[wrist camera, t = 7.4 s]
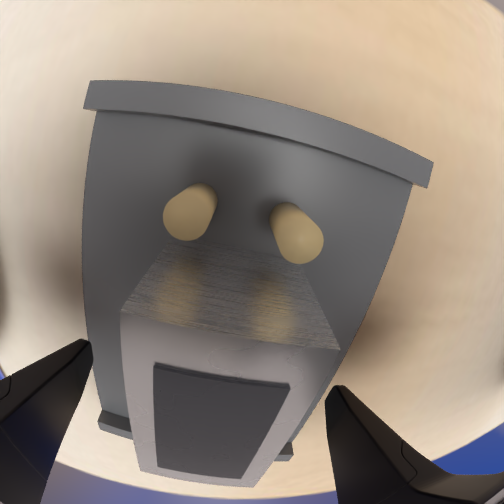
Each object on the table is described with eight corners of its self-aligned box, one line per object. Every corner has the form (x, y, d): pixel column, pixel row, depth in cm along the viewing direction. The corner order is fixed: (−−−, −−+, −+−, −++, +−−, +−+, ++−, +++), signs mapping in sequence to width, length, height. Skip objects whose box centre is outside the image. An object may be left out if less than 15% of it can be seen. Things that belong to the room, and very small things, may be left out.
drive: (297, 260, 10) (341, 352, 5) (249, 402, 13) (253, 489, 8) (174, 235, 10) (118, 313, 5) (161, 387, 12) (139, 472, 7)
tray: (405, 158, 10) (460, 166, 6) (285, 438, 16) (291, 479, 12) (114, 90, 8) (66, 71, 5) (108, 407, 14) (93, 446, 11)
